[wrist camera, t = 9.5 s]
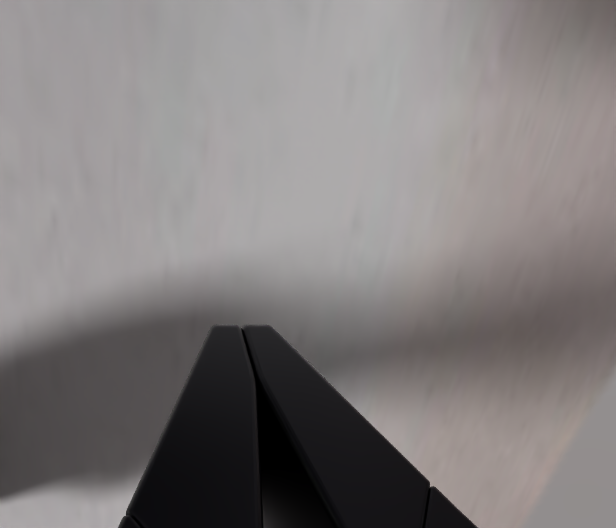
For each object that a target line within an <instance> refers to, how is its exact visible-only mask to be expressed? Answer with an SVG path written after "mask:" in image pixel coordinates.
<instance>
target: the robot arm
mask: <svg viewBox="0 0 616 528" xmlns="http://www.w3.org/2000/svg"><path fill="white" fill-rule="evenodd" d="M118 528H478V527H477V526H475V525H474V524H473V523H472V522H471V521H470V520H469V519H468V518H467V517H466V516H465V515H464V514H463V513H462V512H461V511H459V510H458V509H457V508H456V507H455V506H454V505H453V504H452V503H451V502H450V501H449V500H448V499H447V498H446V497H445V496H444V495H443V494H442V493H441V492H440V491H439V490H438V489H437V488H436V487H434V486H432V487H430V482H429V481H428V480H427V479H426V478H425V477H424V476H423V475H422V474H421V473H420V472H419V471H418V470H417V469H416V468H415V467H414V466H413V465H412V464H411V463H410V462H409V461H408V460H407V459H406V458H405V457H404V456H403V455H402V454H401V453H400V452H399V451H398V450H397V449H396V448H395V447H394V446H393V445H392V444H391V443H390V442H389V441H388V440H387V439H386V438H385V437H384V436H383V435H382V434H380V433H379V432H378V431H377V430H376V429H375V428H374V427H373V426H372V425H371V424H370V423H369V422H368V421H367V420H366V419H365V418H364V417H363V416H362V415H361V414H360V413H359V412H358V411H357V410H356V409H355V408H354V407H353V406H352V405H351V404H350V403H349V402H348V401H347V400H346V399H345V398H344V397H343V396H342V395H341V394H340V393H339V392H338V391H337V390H336V389H335V388H334V387H333V386H332V385H331V384H329V383H328V382H327V381H326V380H325V379H324V378H323V377H322V376H321V375H320V374H319V373H318V372H317V371H316V370H315V369H314V368H313V367H312V366H311V365H310V364H309V363H308V362H307V361H306V360H305V359H304V358H303V357H302V356H301V355H300V354H299V353H298V352H297V351H296V350H295V349H294V348H293V347H292V346H291V345H290V344H289V343H288V342H287V341H286V340H285V339H284V338H283V337H282V336H281V335H280V334H279V333H277V332H276V331H275V330H274V329H273V328H272V327H271V326H269V325H244V326H243V327H242V328H241V327H239V326H238V325H214V326H212V327H211V328H210V330H209V332H208V334H207V337H206V339H205V341H204V343H203V345H202V347H201V350H200V352H199V354H198V356H197V358H196V361H195V363H194V365H193V367H192V369H191V371H190V374H189V376H188V378H187V380H186V382H185V384H184V387H183V389H182V391H181V393H180V395H179V397H178V400H177V402H176V404H175V406H174V408H173V410H172V413H171V415H170V417H169V419H168V421H167V424H166V426H165V428H164V430H163V432H162V434H161V437H160V439H159V441H158V443H157V445H156V447H155V450H154V452H153V454H152V456H151V458H150V460H149V463H148V465H147V467H146V469H145V471H144V473H143V476H142V478H141V480H140V482H139V484H138V487H137V489H136V491H135V493H134V495H133V497H132V500H131V502H130V504H129V506H128V508H127V511H126V516H124V517H123V518H122V520H121V522H120V525H119V527H118Z"/></svg>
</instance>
